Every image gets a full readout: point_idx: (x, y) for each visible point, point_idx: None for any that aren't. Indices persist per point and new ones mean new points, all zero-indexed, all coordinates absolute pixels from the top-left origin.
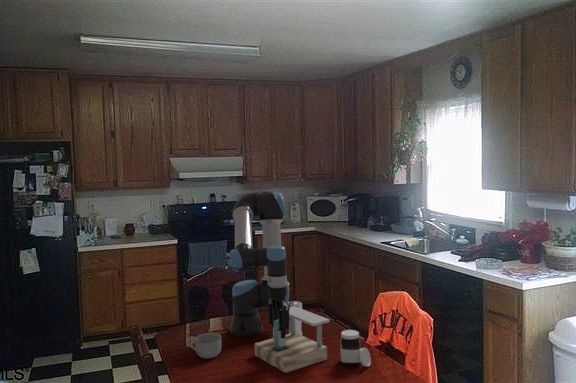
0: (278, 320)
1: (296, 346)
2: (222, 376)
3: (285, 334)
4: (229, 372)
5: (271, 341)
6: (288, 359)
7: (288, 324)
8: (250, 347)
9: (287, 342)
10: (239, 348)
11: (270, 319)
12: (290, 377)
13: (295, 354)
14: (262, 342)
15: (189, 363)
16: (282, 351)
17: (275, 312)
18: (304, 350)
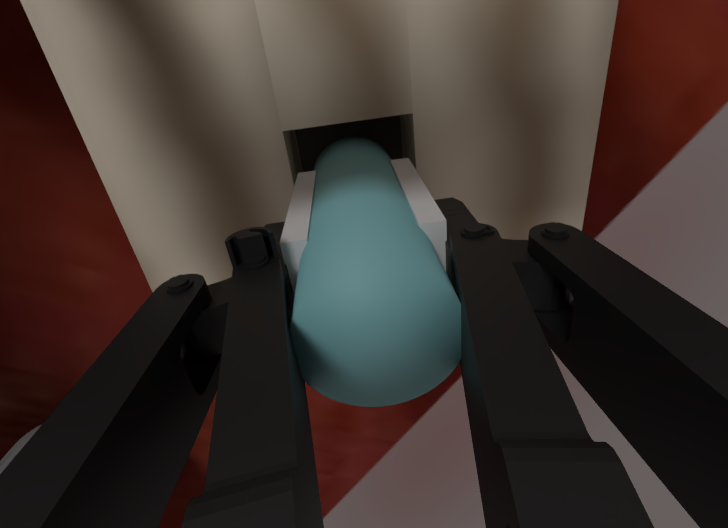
0: (366, 341)
1: (411, 25)
2: (375, 442)
3: (468, 211)
4: (352, 416)
5: (167, 180)
6: (580, 218)
7: (614, 263)
8: (22, 235)
9: (259, 53)
10: (26, 298)
11: (212, 396)
12: (604, 214)
13: (562, 136)
14: (162, 252)
15: (172, 503)
16: (436, 198)
17: (317, 500)
18: (551, 7)
